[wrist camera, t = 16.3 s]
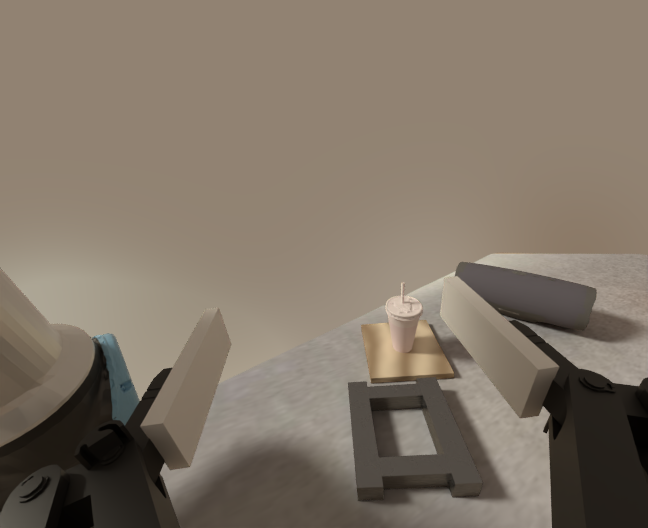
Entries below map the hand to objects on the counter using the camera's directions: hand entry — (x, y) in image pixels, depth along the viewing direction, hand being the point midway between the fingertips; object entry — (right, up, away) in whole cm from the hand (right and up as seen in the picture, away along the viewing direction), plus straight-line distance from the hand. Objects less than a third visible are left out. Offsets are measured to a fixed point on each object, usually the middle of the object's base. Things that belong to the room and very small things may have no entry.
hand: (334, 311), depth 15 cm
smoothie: (+15, -13, +35) cm, 40 cm away
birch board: (+15, -14, +36) cm, 41 cm away
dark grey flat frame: (+10, -22, +21) cm, 32 cm away
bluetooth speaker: (+41, -8, +42) cm, 59 cm away
